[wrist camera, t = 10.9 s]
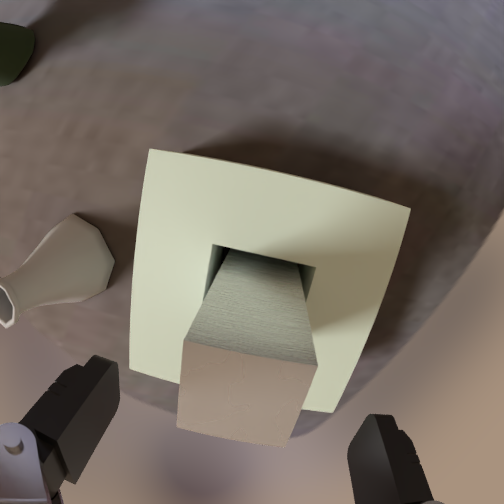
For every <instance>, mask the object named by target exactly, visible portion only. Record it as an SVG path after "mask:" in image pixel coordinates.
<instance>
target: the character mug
mask: <svg viewBox="0 0 504 504" xmlns="http://www.w3.org/2000/svg"><path fill="white" fill-rule="evenodd" d="M34 43H35V37H34V33H33V30H30V29H26V28H25V27H23V26H19V25H15V24H10V23H4V22H0V86H5V85H9V84H10V83H11V82H12V81H13V80H14V79H15V78H16V77H17V76H18V75H19V73H20V72H21V70H22V69H23V68H24V66H25V65H26V63H27V61H28V59H29V58H30V56H31V54H32V52H33V49H34Z"/></svg>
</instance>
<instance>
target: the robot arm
mask: <svg viewBox="0 0 504 504" xmlns="http://www.w3.org/2000/svg"><path fill="white" fill-rule="evenodd" d="M119 401H120V390H119V371H118V364H117V362H114V361H111V360H109V359H106V358H103V357H100V356H98V355H94V356H92V357H91V358H90V360H89V361H88V362H87V363H86V364H85V366H84V367H83V366H80V365H78V364H76V365H74V366H72V367H70V368H69V369H67V370H64V371H63V372H62V373H61V375H60V376H59V377H58V378H57V379H56V380H55V383H53V384H52V385H51V386H50V387H49V388H48V391H46V392H45V393H44V394H43V395H42V396H41V397H40V399H39V400H38V401H37V402H36V403H35V405H34V406H33V407H32V408H31V409H30V410H29V412H28V413H27V414H26V415H25V417H24V418H23V419H22V420H21V421H20V422H19V423H5V424H2V425H0V504H64V503H63V499H62V495H61V492H60V489H59V488H60V486H61V484H62V482H63V481H64V479H65V480H67V481H69V482H71V483H73V484H76V482H77V481H78V479H79V477H80V475H81V473H82V471H83V470H84V468H85V466H86V464H87V463H88V460H89V459H90V457H91V455H92V454H93V452H94V450H95V448H96V446H97V445H98V443H99V441H100V439H101V438H102V436H103V434H104V432H105V431H106V429H107V427H108V425H109V424H110V422H111V420H112V418H113V417H114V415H115V413H116V411H117V409H118V405H119ZM347 459H348V465H349V471H350V476H351V481H352V488H353V493H354V499H355V504H444V503H442V502H439V501H434V499H433V497H432V494H431V491H430V488H429V485H428V482H427V480H426V477H425V474H424V471H423V469H422V466H421V464H420V460H419V458H418V455H416V450H415V447H414V445H413V442H412V440H411V439H410V438H409V437H408V436H407V434H406V433H405V432H404V431H403V430H398V427H397V425H396V422H395V419H394V417H393V416H392V415H381V414H369V415H368V416H367V417H366V419H365V421H364V422H363V424H362V425H361V427H360V429H359V430H358V432H357V433H356V435H355V436H354V438H353V440H352V441H351V443H350V445H349V448H348V453H347Z"/></svg>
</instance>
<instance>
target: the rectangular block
mask: <svg viewBox="0 0 504 504" xmlns="http://www.w3.org/2000/svg"><path fill="white" fill-rule="evenodd" d="M317 368H318V363H317V358H316V352H315V347H314V342H313V337H312V332H311V327H310V322H309V317H308V312H307V307H306V302H305V297H304V293H303V288H302V283H301V279H300V274H299V269H298V265H297V263H296V262H291V261H287V260H282V259H278V258H273V257H269V256H264V255H260V254H255V253H251V252H246V251H242V250H237V249H233V248H230V250H229V252H228V254H227V256H226V258H225V260H224V262H223V264H222V266H221V268H220V270H219V272H218V273H217V275H216V277H215V279H214V281H213V283H212V285H211V287H210V289H209V291H208V293H207V295H206V297H205V299H204V301H203V303H202V305H201V307H200V309H199V311H198V312H197V314H196V316H195V318H194V320H193V322H192V324H191V326H190V328H189V330H188V332H187V334H186V336H185V338H184V340H183V351H182V361H181V373H180V385H179V398H178V412H177V427H178V428H182V429H186V430H190V431H194V432H198V433H202V434H207V435H212V436H217V437H221V438H226V439H231V440H237V441H243V442H249V443H255V444H262V445H269V446H277V447H285V446H286V444H287V442H288V439H289V437H290V435H291V433H292V430H293V428H294V426H295V423H296V421H297V418H298V416H299V414H300V411H301V409H302V406H303V404H304V401H305V399H306V396H307V394H308V391H309V389H310V386H311V383H312V381H313V378H314V376H315V373H316V370H317Z"/></svg>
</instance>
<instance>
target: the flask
mask: <svg viewBox="0 0 504 504" xmlns="http://www.w3.org/2000/svg"><path fill="white" fill-rule="evenodd" d="M114 262H115V260H114V258H113V257H112V255H111V253H110V251H109V249H108V247H107V245H106V243H105V241H104V239H103V237H102V235H101V233H100V231H99V229H98V228H96V227H94V226H93V225H91V224H89V223H88V222H86V221H84V220H83V219H81V218H79V217H78V216H76V215H74V214H71V215H70V216H68V217H67V218H66V219H64V220H63V221H62V222H60V223H59V224H58V225H56V226H55V227H54V228H52V229H51V230H50V232H49V233H48V234H47V235H46V236H45V238H44V239H43V240H42V241H41V243H40V244H39V245H38V246H37V248H36V249H35V250H34V251H33V252H32V254H31V255H30V256H29V257H28V258H27V260H26V261H25V262H24V263H23V265H22V266H21V267H20V268H18V269H17V270H16V271H15V272H13V273H11V274H10V275H8V276H6V277H4V278H1V277H0V323H1V324H2V325H3V326H4V327H5V328H6V329H7V328H8V327H10V326H12V325H13V324H15V323H16V322H18V320H19V315H20V314H21V313H23V312H24V311H27V310H29V309H32V308H35V307H37V306H41V305H49V304H57V303H68V302H80V301H85V300H87V299H89V298H91V297H93V296H95V295H97V294H99V293H101V292H103V291H104V290H106V287H107V284H108V281H109V277H110V274H111V271H112V268H113V265H114Z"/></svg>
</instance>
